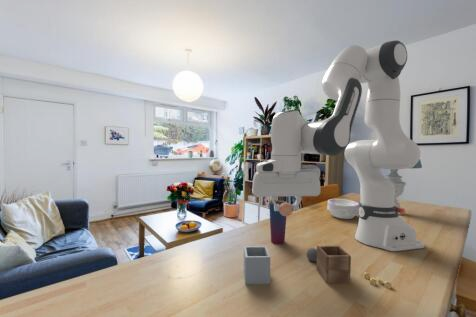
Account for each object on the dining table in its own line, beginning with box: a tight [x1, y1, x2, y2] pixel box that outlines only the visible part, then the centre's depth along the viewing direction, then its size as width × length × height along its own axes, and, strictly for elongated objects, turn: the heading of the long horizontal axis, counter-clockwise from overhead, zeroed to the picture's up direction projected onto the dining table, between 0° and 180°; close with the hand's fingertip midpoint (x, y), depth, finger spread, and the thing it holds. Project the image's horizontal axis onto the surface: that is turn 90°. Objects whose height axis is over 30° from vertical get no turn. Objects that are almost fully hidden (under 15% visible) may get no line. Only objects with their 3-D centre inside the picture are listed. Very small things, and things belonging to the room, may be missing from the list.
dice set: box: [363, 272, 392, 290], centre depth 59 cm, size 5×5×2 cm
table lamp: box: [385, 158, 423, 216], centre depth 125 cm, size 24×24×40 cm
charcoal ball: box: [306, 247, 317, 263], centre depth 70 cm, size 4×4×4 cm
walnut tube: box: [316, 245, 352, 284], centre depth 61 cm, size 6×6×7 cm
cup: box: [268, 199, 288, 245], centre depth 85 cm, size 7×7×15 cm
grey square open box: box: [243, 245, 271, 285], centre depth 60 cm, size 6×6×7 cm
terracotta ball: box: [279, 202, 293, 217], centre depth 68 cm, size 4×4×4 cm
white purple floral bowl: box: [326, 198, 359, 220], centre depth 117 cm, size 15×15×8 cm
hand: (285, 210), depth 68 cm, fingers closed on terracotta ball, 4 cm apart
